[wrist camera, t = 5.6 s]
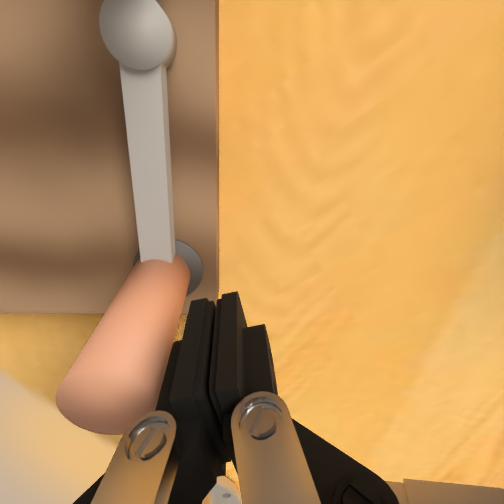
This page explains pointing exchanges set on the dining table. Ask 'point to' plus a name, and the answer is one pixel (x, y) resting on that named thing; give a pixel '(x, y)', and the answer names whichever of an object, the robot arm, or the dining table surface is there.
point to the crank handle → (149, 235)
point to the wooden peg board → (97, 156)
